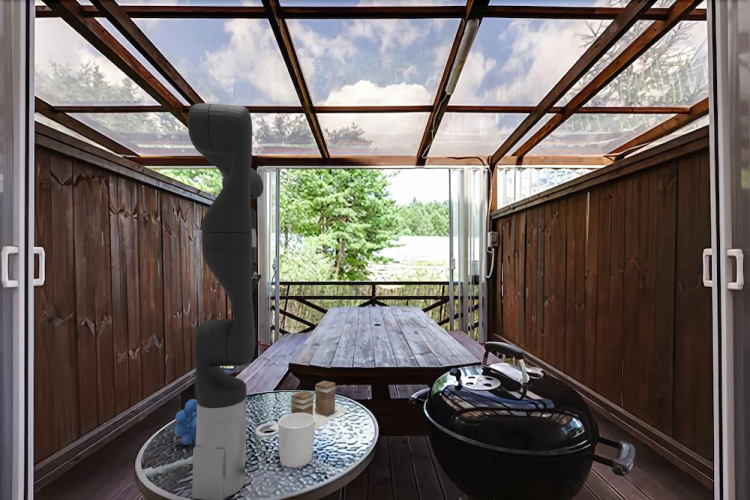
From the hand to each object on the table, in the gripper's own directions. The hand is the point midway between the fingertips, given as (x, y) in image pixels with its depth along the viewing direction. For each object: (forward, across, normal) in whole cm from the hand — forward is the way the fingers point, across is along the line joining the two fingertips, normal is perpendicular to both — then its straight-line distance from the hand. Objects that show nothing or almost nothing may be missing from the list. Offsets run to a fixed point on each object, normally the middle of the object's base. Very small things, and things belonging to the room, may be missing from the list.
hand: (240, 309), depth 101 cm
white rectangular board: (+32, +13, -14) cm, 37 cm away
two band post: (+30, +8, -16) cm, 35 cm away
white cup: (+32, -6, -26) cm, 41 cm away
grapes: (+32, -10, +2) cm, 34 cm away
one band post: (+30, +18, -16) cm, 39 cm away
